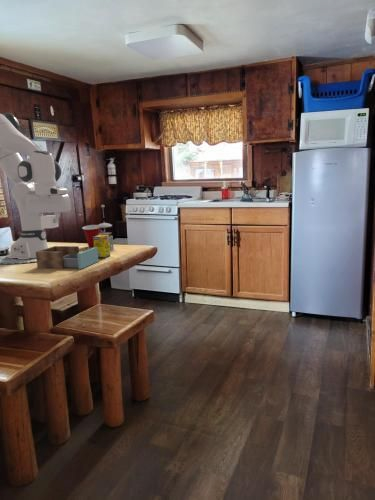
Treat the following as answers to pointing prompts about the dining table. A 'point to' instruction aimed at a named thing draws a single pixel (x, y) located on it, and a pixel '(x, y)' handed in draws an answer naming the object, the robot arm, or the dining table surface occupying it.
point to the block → (48, 221)
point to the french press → (107, 233)
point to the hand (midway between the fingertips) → (49, 222)
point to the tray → (81, 259)
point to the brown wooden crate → (54, 256)
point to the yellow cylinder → (102, 245)
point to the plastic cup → (91, 233)
